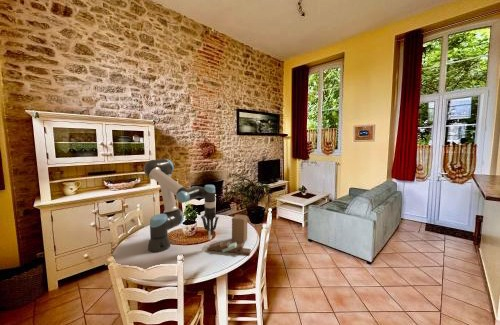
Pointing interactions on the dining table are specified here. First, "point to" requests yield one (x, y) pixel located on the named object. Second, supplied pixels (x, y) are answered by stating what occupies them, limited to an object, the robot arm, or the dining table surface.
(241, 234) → the block
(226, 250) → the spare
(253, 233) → the dining table surface
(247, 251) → the domino
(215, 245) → the domino
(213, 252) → the runner
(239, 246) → the domino
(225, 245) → the domino
